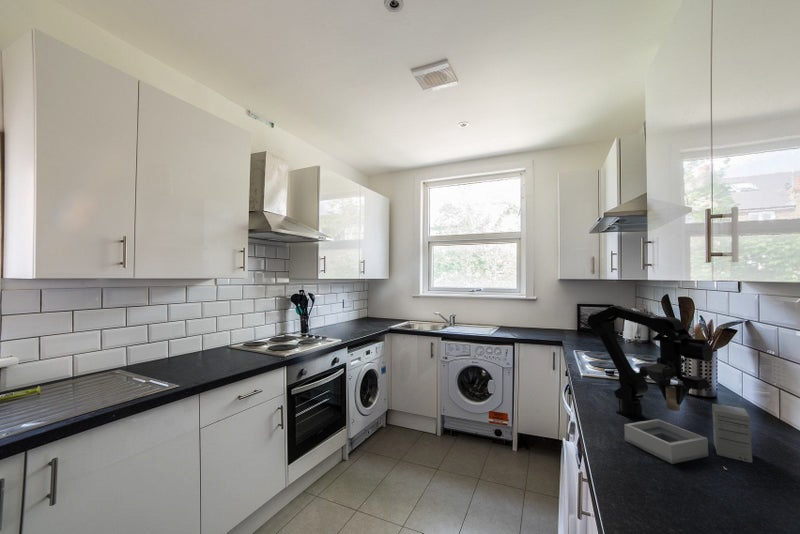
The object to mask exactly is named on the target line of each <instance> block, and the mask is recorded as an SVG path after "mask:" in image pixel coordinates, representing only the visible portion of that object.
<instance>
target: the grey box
mask: <svg viewBox="0 0 800 534" xmlns="http://www.w3.org/2000/svg"><path fill="white" fill-rule="evenodd" d="M708 439H709V438H707V437H706V436H702V435H700V434H698V433H695V432H692V431H690V430H687V429H684V428H682V427H679V426H677V425H675V424H672V423H669V422H667V421H664V420H661V419H660V418H656V419H655V418H654V419H650V420H644V421H636V422H630V423H624V441H625V442H627V443H629V444H631V445H633V446H635V447H637V448H639V449H641V450H643V451H645V452H647V453H650V454H651V455H652V456H655V457H657V458H659V459H660V460H661V459H662V460H663V461H665V462H668V463H669V464H671V465H673V464H677V463H678V464H679V463H682V462H689V461H692V460H697V459H702V458H706V457H709V440H708Z"/></svg>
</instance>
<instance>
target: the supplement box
mask: <svg viewBox="0 0 800 534" xmlns="http://www.w3.org/2000/svg"><path fill="white" fill-rule="evenodd" d="M711 405H712V406H711V407H712V408H711V409H712V425H713V427H712V428H713V429H712V431H713V446H714V447H715V451H716V455H717V456H720V457H725V458H728V459H732V460H733V459H734V460H736V461H741V460H742V461H741V462H747V463H751V464H753V451H752V430H751V429H752V428H751V416H750V415H749V413H748V412H747V409H745V408H743V407H737V406H736V407H735V406H730V405H723V404H716V403H712V404H711Z"/></svg>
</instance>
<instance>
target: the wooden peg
mask: <svg viewBox="0 0 800 534" xmlns="http://www.w3.org/2000/svg"><path fill="white" fill-rule="evenodd" d="M665 402H666V403H665V404H666V405H665V406H666V407H665V408H666V409H667V410H670V411H674V412H680V411H681V405H678V404H677V400H676V388H675V387H674V386H673V385H672V386H671V385H670V386H666V401H665Z"/></svg>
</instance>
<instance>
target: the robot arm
mask: <svg viewBox="0 0 800 534" xmlns="http://www.w3.org/2000/svg"><path fill="white" fill-rule="evenodd" d="M618 318H619V319H622V320H624V321H628V322H632V323H635V324H638V325H641V326H644V327H647V328H649V329H650V330H651V331H652V332H655V333H657V334H656V335H654V337H652V339H651V340H652V341H658V342H659V357H656V363H653V364H652V365H643V366H642V365H641V366H640V367H639V369H638V371H639V372H638V371H635V370H634V369H633V367H632V365H631V364H630V362H629V360H628V358H627V356H626V354H625V353H624V351H623V349H622V347H621V345H620V343H619V342H618V340H617V337H616V336H615V334H614V325H613V323H614V322H615V321H616V320H618ZM586 323H587V325H588V326H589V328H590V329H591V331H592V332H593V333H595V334H596V336H598V337H599V338H600V340H601V343H603V346H604V348H605V350H606V352H607V354H608V356H609V357H610V359H611V361H612V363H613V365H614V367H615V369H616V371H617V373H618V384H619V386H620V387H619V388H617V389H616V390H614V395H615V398H616V399H618V410H615V412H616V413H617V414H620V415H622V416H623V417H626V418H629V419H638V418H643V417H645V414H643V408H642V404H641V402H642V401H641V399H643V398H644V396H645V394H647V392H648V389H649V385H648V381H647V380H646V379H645V377H648V378H649V379H650V380H652V381H653V382H654V383H656V384H657V386H658V388H659V389H660V392H661V394H662V396H663V398H664V401H665V402H666V386H671V382H672V380H673V381H676V382H677V383H676V384H672V386H673V387H675V388H676V400H677V404H678V405H680V406H681V405H682V403H683V402H684V399H685V398H686V396H687V394H688V393H689V391H690V390H695V391H696V390H698V391H699V390H705V389H710V382H709V380H708V379H707V378H704V377H700V376H696V375H692V376H686V375H687V374H686V371H683V364H685V363H686V360H685V359H689V360H695V361H699V362H704V363H705V362H706V363H709V362H710V361H711V360H712V359H713V352H714V351H713V349H712V346H711V344H709V340H708V339H705V338H693V336H692V335H691V334H690V333H689V331H687V329H686V328H685V327H684V324H683V322H682V320H680V319H679V318H678V317H670V316H660V315H659V316H658V315H652V314H648V313H645V312H640V311H638V310H633V309H630V308H626V307H623V306H621V305H611V306H609V307H608V308H605V309H604V310H602V311H598V312H597V313H594V314H590V315H589V316H588V317H587V320H586Z"/></svg>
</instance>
